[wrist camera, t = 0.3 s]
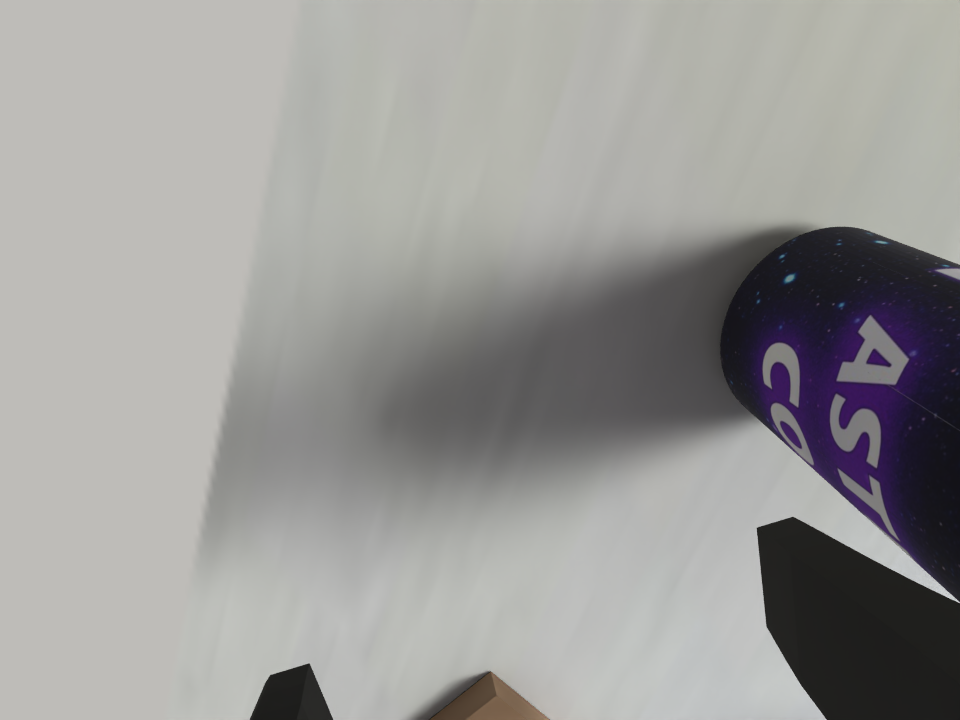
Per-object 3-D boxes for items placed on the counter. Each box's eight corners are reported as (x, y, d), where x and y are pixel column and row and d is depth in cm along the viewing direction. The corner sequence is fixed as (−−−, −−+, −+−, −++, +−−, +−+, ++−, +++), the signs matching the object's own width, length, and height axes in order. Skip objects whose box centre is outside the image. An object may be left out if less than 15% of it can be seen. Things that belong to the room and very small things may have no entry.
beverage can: (717, 223, 21) (1144, 434, 10) (912, 215, 22) (1502, 400, 11) (695, 417, 23) (1025, 767, 12) (873, 403, 24) (1332, 717, 13)
